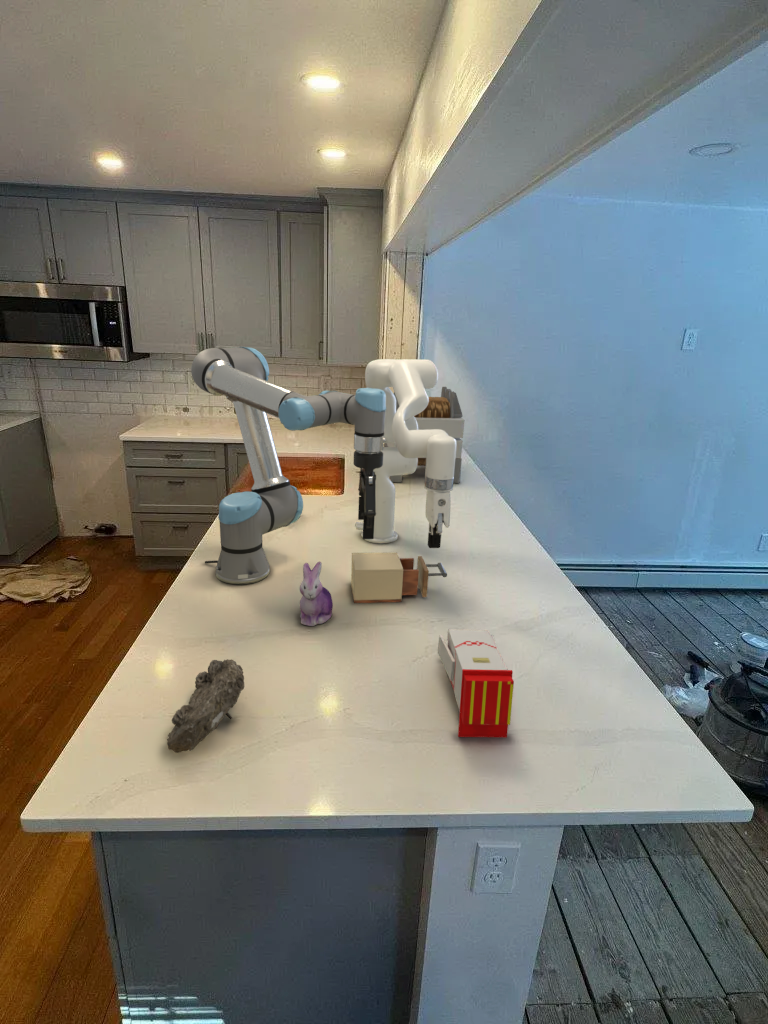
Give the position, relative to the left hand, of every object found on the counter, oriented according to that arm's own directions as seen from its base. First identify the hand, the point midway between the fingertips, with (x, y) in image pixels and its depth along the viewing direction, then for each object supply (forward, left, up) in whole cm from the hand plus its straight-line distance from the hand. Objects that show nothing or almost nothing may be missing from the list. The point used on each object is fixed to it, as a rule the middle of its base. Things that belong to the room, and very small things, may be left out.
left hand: (365, 528), depth 151 cm
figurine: (-8, -17, -19) cm, 27 cm away
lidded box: (+3, +1, -19) cm, 20 cm away
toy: (+33, -35, -19) cm, 52 cm away
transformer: (-6, +127, -19) cm, 128 cm away
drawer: (+13, +5, -18) cm, 23 cm away
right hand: (+18, +6, -5) cm, 20 cm away
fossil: (-14, -57, -19) cm, 62 cm away
